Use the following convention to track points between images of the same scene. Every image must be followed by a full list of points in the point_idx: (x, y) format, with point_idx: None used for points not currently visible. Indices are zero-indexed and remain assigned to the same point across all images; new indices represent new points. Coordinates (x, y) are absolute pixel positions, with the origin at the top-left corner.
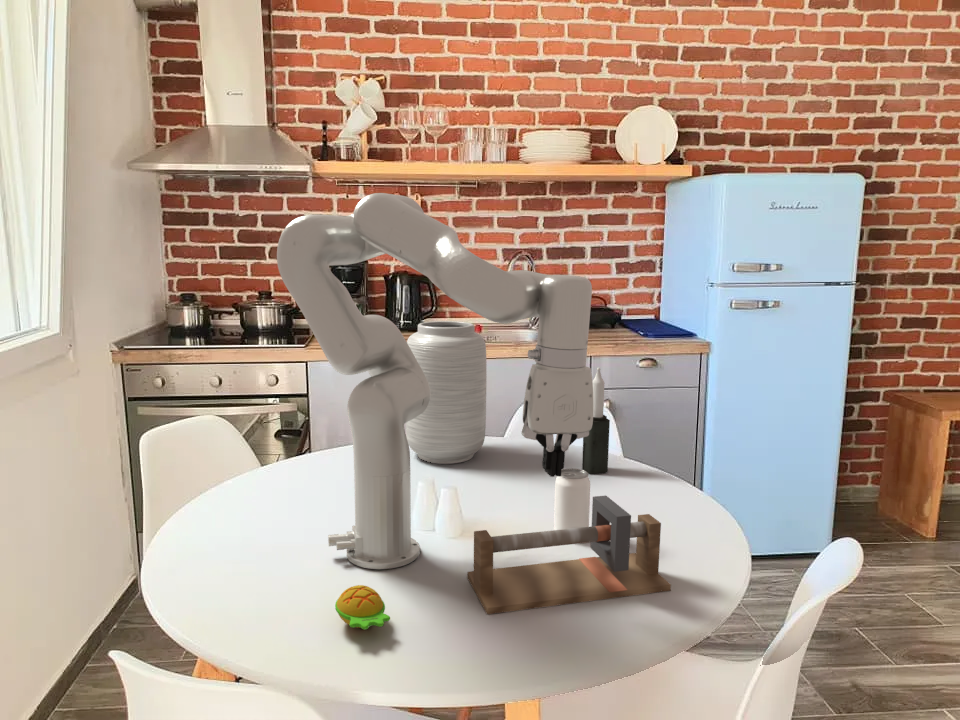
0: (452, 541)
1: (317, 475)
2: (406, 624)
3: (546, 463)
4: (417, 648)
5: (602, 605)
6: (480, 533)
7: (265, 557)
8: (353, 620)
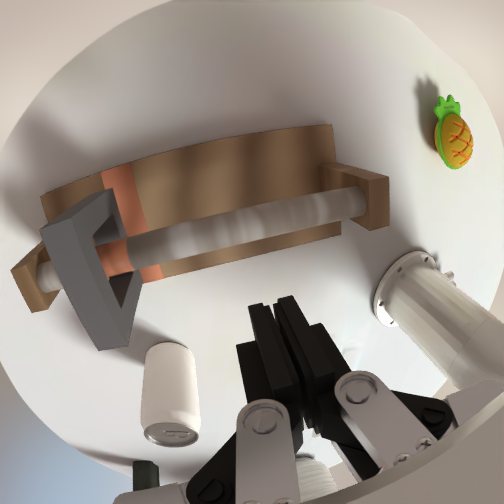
0: (331, 328)
1: None
2: (409, 123)
3: (329, 337)
4: (399, 74)
5: (147, 139)
6: (382, 214)
7: (470, 272)
8: (459, 108)
